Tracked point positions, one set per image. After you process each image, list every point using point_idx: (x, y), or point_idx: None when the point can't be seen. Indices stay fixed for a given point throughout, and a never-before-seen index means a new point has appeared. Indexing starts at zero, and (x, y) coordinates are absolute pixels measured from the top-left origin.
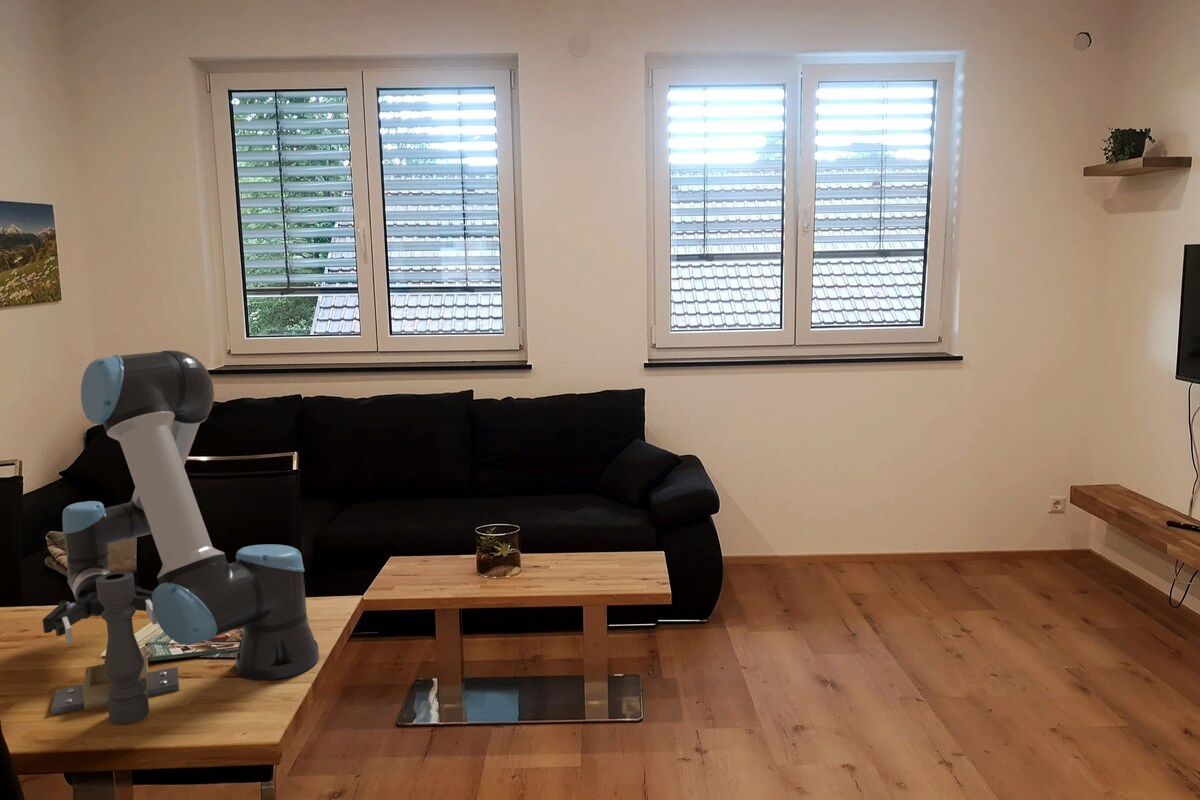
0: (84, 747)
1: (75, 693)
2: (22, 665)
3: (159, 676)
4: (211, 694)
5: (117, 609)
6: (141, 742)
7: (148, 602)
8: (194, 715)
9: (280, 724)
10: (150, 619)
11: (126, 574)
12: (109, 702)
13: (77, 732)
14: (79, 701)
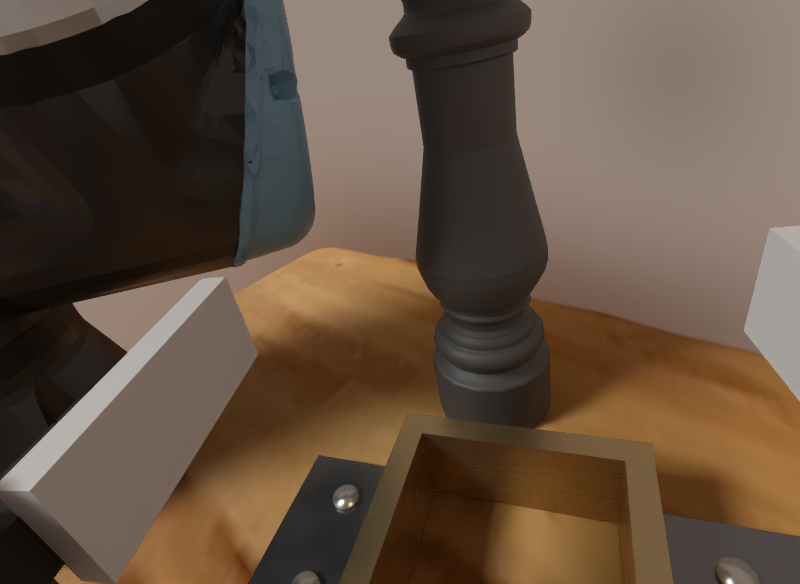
0: (607, 319)
1: None
2: None
3: (328, 571)
4: (283, 399)
5: None
6: None
7: (96, 405)
8: (366, 335)
9: (287, 266)
10: (216, 414)
11: None
12: (543, 344)
13: (640, 384)
14: (674, 534)
